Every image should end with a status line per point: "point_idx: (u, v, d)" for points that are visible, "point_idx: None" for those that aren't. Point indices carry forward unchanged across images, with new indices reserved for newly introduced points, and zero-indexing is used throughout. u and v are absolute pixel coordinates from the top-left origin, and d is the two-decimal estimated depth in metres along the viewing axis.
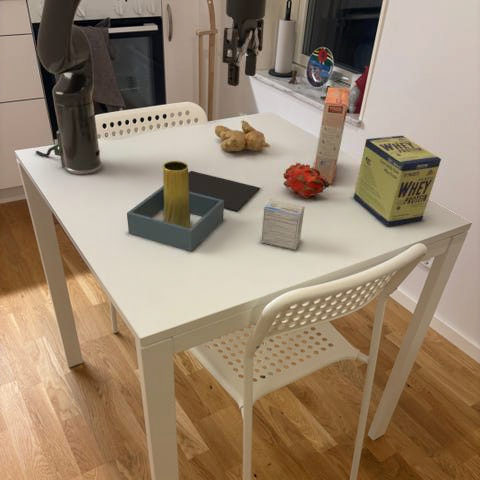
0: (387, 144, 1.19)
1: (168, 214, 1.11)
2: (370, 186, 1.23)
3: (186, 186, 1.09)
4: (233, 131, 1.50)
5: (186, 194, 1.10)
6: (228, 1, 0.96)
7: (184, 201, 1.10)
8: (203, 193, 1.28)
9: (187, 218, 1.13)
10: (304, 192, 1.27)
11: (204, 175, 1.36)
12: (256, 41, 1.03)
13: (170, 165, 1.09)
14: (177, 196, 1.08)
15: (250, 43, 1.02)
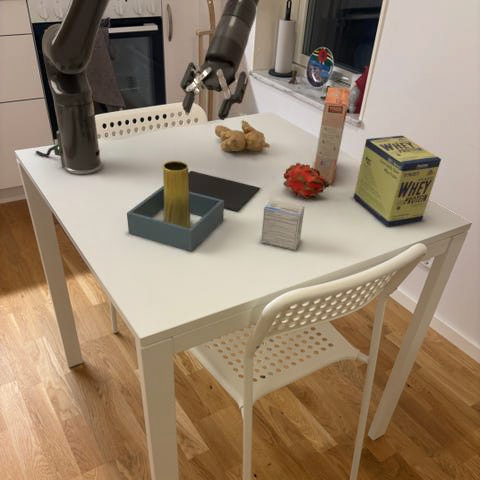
0: (387, 144, 1.19)
1: (168, 214, 1.11)
2: (370, 186, 1.23)
3: (186, 186, 1.09)
4: (233, 131, 1.50)
5: (186, 194, 1.10)
6: None
7: (184, 201, 1.10)
8: (203, 193, 1.28)
9: (187, 218, 1.13)
10: (304, 192, 1.27)
11: (204, 175, 1.36)
12: (221, 81, 1.09)
13: (170, 165, 1.09)
14: (177, 196, 1.08)
15: (215, 82, 1.10)
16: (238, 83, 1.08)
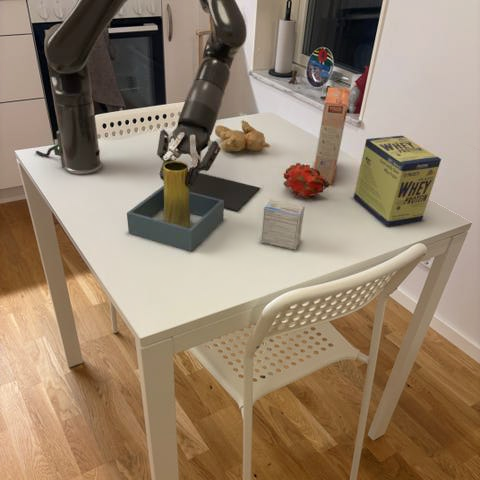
0: (387, 144, 1.19)
1: (168, 214, 1.11)
2: (370, 186, 1.23)
3: (186, 186, 1.08)
4: (233, 131, 1.50)
5: (186, 194, 1.09)
6: None
7: (184, 201, 1.10)
8: (203, 193, 1.28)
9: (187, 218, 1.13)
10: (304, 192, 1.27)
11: (204, 175, 1.36)
12: (192, 147, 1.07)
13: (170, 165, 1.09)
14: (177, 196, 1.08)
15: (186, 146, 1.08)
16: (208, 152, 1.07)
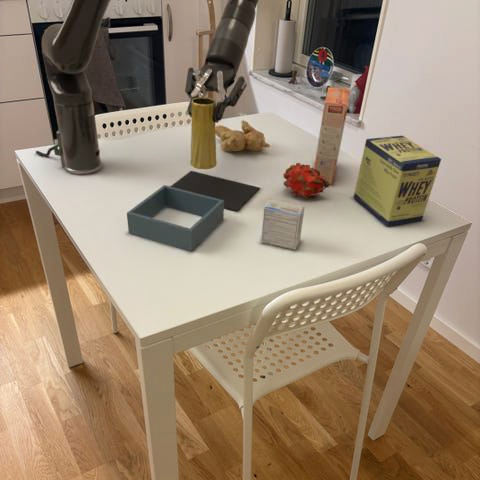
0: (387, 144, 1.19)
1: (195, 150, 1.15)
2: (370, 186, 1.23)
3: (213, 121, 1.13)
4: (233, 131, 1.50)
5: (213, 130, 1.14)
6: None
7: (211, 136, 1.14)
8: (203, 193, 1.28)
9: (213, 155, 1.17)
10: (304, 192, 1.27)
11: (204, 175, 1.36)
12: (219, 83, 1.11)
13: (198, 102, 1.13)
14: (205, 131, 1.12)
15: (213, 82, 1.12)
16: (234, 87, 1.11)
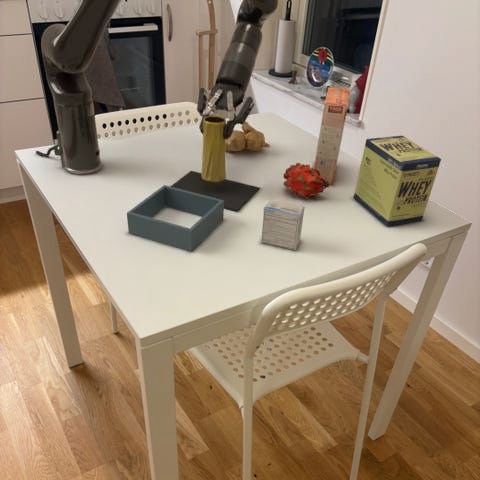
0: (387, 144, 1.19)
1: (207, 164, 1.24)
2: (370, 186, 1.23)
3: (223, 138, 1.21)
4: (233, 131, 1.50)
5: (223, 146, 1.22)
6: None
7: (221, 152, 1.22)
8: (203, 193, 1.28)
9: (223, 168, 1.25)
10: (304, 192, 1.27)
11: None
12: (229, 103, 1.19)
13: (209, 120, 1.21)
14: (216, 147, 1.21)
15: (224, 102, 1.20)
16: (243, 106, 1.19)
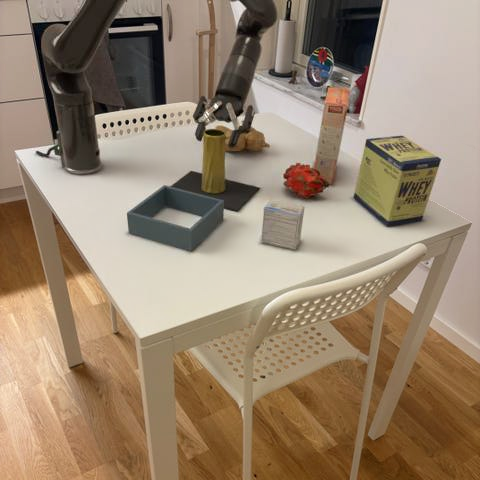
0: (387, 144, 1.19)
1: (207, 176, 1.26)
2: (370, 186, 1.23)
3: (223, 151, 1.23)
4: None
5: (223, 158, 1.24)
6: None
7: (221, 164, 1.24)
8: (203, 193, 1.28)
9: (223, 180, 1.27)
10: (304, 192, 1.27)
11: None
12: (231, 114, 1.21)
13: (209, 133, 1.23)
14: (215, 160, 1.23)
15: (225, 114, 1.22)
16: (246, 115, 1.20)
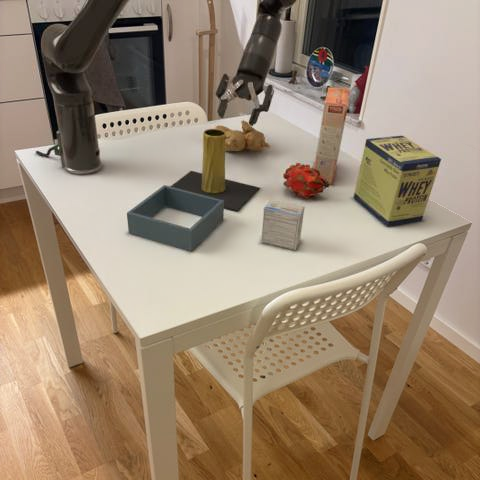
0: (387, 144, 1.19)
1: (207, 176, 1.26)
2: (370, 186, 1.23)
3: (223, 151, 1.23)
4: (233, 131, 1.50)
5: (223, 158, 1.24)
6: None
7: (221, 164, 1.24)
8: (203, 193, 1.28)
9: (223, 180, 1.27)
10: (304, 192, 1.27)
11: None
12: (251, 93, 1.29)
13: (209, 133, 1.23)
14: (215, 160, 1.23)
15: (246, 93, 1.30)
16: (266, 95, 1.28)
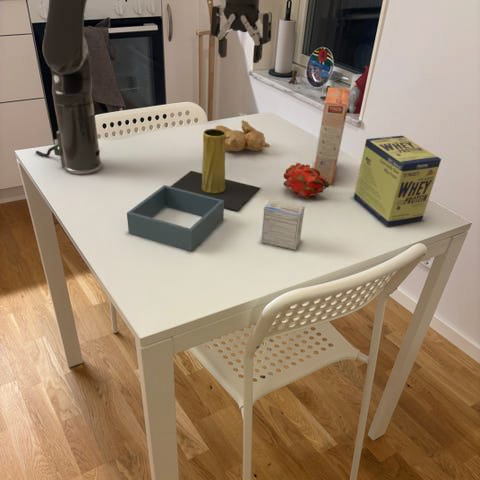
0: (387, 144, 1.19)
1: (207, 176, 1.26)
2: (370, 186, 1.23)
3: (223, 151, 1.23)
4: (233, 131, 1.50)
5: (223, 158, 1.24)
6: None
7: (221, 164, 1.24)
8: (203, 193, 1.28)
9: (223, 180, 1.27)
10: (304, 192, 1.27)
11: None
12: (247, 28, 1.15)
13: (209, 133, 1.23)
14: (215, 160, 1.23)
15: (242, 28, 1.16)
16: (263, 27, 1.14)
